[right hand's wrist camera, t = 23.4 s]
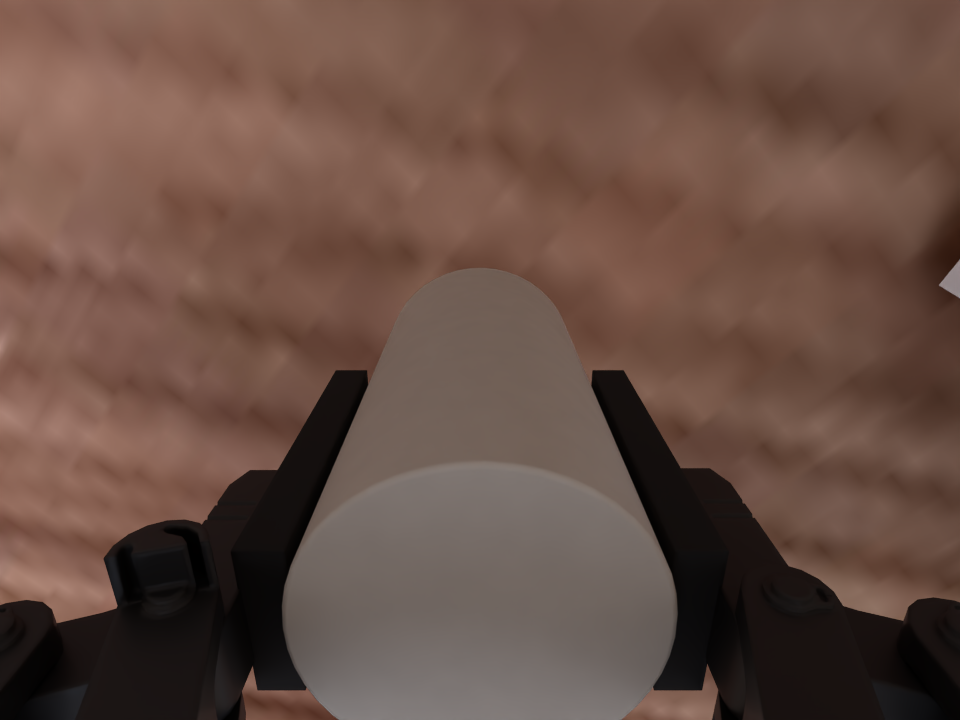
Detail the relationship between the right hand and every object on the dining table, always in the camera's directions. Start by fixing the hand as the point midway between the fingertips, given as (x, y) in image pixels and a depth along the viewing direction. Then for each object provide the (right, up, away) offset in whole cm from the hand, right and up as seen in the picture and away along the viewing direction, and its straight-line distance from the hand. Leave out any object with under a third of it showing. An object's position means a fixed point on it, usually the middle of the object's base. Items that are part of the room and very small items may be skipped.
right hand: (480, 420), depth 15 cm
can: (0, +2, +3) cm, 4 cm away
